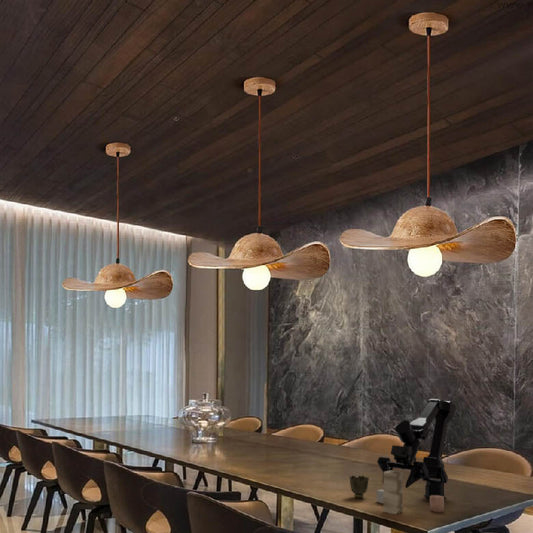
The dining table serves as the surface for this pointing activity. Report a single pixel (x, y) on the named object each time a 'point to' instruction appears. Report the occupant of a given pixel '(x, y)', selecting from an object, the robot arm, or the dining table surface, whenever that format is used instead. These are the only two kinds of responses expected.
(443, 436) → the robot arm
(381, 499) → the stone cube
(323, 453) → the dining table surface
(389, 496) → the birch block
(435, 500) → the pink cube
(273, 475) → the dining table surface
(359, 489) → the cup
